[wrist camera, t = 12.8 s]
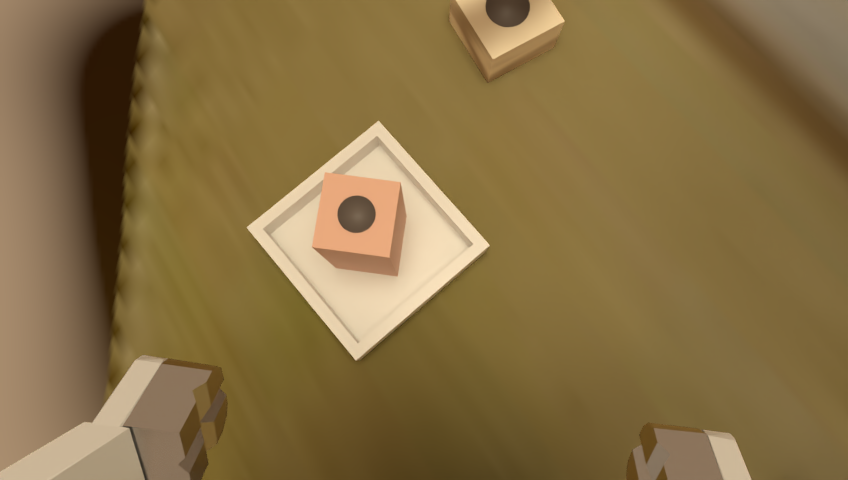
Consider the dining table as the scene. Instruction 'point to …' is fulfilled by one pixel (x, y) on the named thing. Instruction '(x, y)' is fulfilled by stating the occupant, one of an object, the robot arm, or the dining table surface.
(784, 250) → the dining table surface
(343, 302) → the tray
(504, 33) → the low block
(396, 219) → the tall block
